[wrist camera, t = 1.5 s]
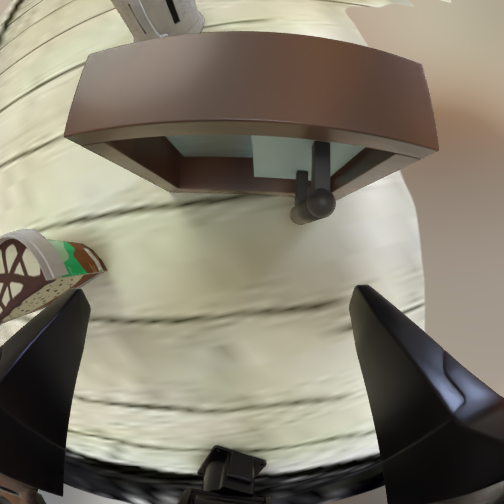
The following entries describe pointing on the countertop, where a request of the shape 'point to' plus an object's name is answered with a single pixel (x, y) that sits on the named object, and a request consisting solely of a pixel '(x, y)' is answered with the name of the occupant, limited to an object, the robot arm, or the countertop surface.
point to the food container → (40, 271)
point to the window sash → (303, 170)
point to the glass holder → (159, 17)
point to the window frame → (249, 108)
